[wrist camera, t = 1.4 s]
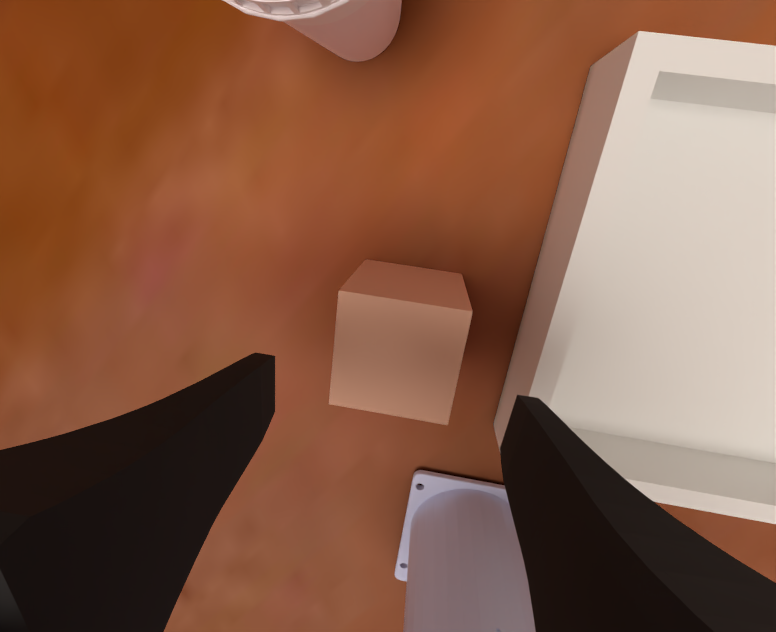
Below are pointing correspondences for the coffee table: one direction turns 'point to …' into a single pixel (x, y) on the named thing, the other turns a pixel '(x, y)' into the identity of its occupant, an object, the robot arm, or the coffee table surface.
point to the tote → (664, 276)
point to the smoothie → (335, 22)
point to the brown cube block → (400, 340)
